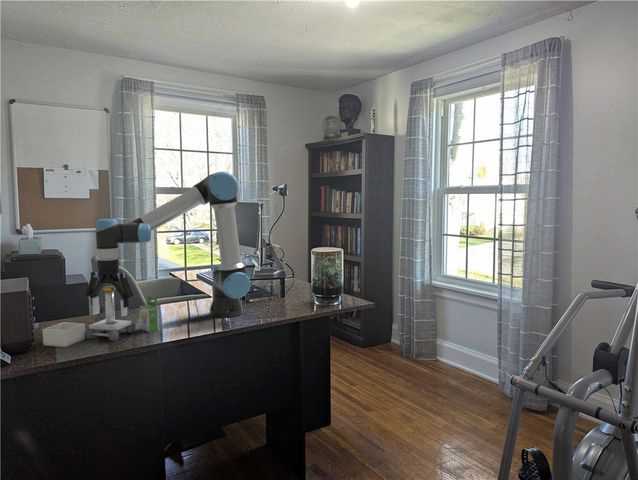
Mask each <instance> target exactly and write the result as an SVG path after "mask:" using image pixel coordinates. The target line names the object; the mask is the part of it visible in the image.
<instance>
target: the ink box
mask: <svg viewBox="0 0 638 480" xmlns="http://www.w3.org/2000/svg"><path fill="white" fill-rule="evenodd" d="M151 300H153V301H151ZM157 300H158V299H157V297H154V296H151V295H147V304H144V305H139V318H140V319H139V320H140V330H142V331H144V332H148V333H153V332H157V331H159V328H158V327H159V325H158V303H157V302H158V301H157Z"/></svg>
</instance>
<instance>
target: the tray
mask: <svg viewBox="0 0 638 480" xmlns="http://www.w3.org/2000/svg"><path fill="white" fill-rule="evenodd" d="M85 332H86V324H85V323H84V322H83V323H81V322H80V323H79V322H66V321H63V322H60V323H59V322H58V323H56V324H53V325H50V326H48V327H45V328H42V344H43V346H48V347H49V346H50V347H59V348H68V347H70V346H73V345H74V344H76V343H79V342H81V341H84V340H86V339H87V338H86V337H85Z"/></svg>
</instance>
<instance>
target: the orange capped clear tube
mask: <svg viewBox="0 0 638 480" xmlns="http://www.w3.org/2000/svg"><path fill="white" fill-rule="evenodd" d="M102 291H103V292H104V306H105V308H104V310H105V319H106V325H113V324H115V320H116V318H115V317H116V316H115V315H116V311H115V291H116V288H115V286H114V285H108V286H103V287H102ZM110 331H111V330H106V331H105V332H106V333H105V334H109V332H110ZM106 337H107V338H108V336H106Z"/></svg>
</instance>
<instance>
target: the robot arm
mask: <svg viewBox="0 0 638 480" xmlns="http://www.w3.org/2000/svg"><path fill="white" fill-rule="evenodd" d="M238 192H239V183H238V180H237V178H236V177H235V176H234V175H233V174H231V173H230V172H227V171H217V172H214V173H210V174H209V175H207V176H206V177H205V178H203V179H202V180H200V181H199V182H198V183H196V184H194V185H192V187H191V189H189V190H188V191H185V192H184V193H182V194H181V195H178V196H176V197H175V198H173V199H171V200H169V201H168V202H165V203H164V204H161V205H160V206H158V207H156V208H153V209H152V210H151V211H149V212H147V213H146V214H145V213H144V214H143V215H141V216H140V217H137V218H136V219H134V220H132V221H130V222H127V223H118V220H117V219H116V218H100V219H97V220H96V221H95V243H96V259H97V261H96V265H97V267H96V269H97V270H98V271H91V272H90V280H89V283H88V286H87V289H86V292H85V296H87V297H89V298H90V305H91V306H92V315H94V316H95V315H97V314H100V297H99V296H98V294H99V293H100V291H101V289H103V287H104V285H105V284H109V285H110V284H111V286H115V290H116V291H117V292H118V294H119V295H120V297H121V299H120V313H121V314H120V316H121V317H125V316H128V308H129V300H130V298H133V297H134V293H133V291H132V289H131V286H130V283H129V280H128V278H127V272H125V271H124V272H119V269H120V260H119V259H118V258H119V244H133V243H134V244H135V243H137V244H138V243H140V244H144V243H150V242H151V241H152V240H151V239H152V232H153V231H155V230H157V229H159V228H160V227H162V226H164V225H166V224H167V223H169V222H171V221H173V220H175V219H177V218H178V217H181V216H182V215H185V214H186V213H188V212H190V211H192V210H193V209H195V208H197V207H198V206H200V205H203V206H205V205H206V204H209V207H211V208H212V209H213V212H214V213H213V214H214V219H215V227H216V233H217V241H218V247H219V248H218V250H219V255H220V256H219V257H220V263H221V264H220V265H214V266H213V267H212V289H213V290H212V294H213V298H212V300H211V301H212V302H211V304H210V308H209V315H210V317H212V318H223V319H224V318H235V317H238V316H241V315H242V314H243V313H244V311H243V310H244V308H243V304H242V302H241V300H240V299H241V298H243V297H244V296H246V295H247V294H248V292H249V291H250V289H251V280H250V278H249V276H248V275H247V268H246V267H247V266H246V264H245V263H244V262H243V261H242V257H241V249H240V243H239V234H238V233H239V232H238V225H237V216H236V209H235V208H236V206H237V204H238V196H237V194H238Z"/></svg>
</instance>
